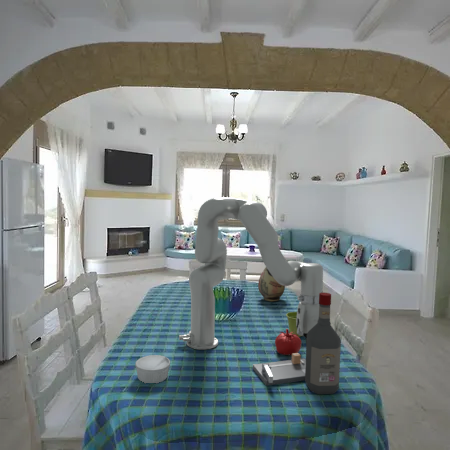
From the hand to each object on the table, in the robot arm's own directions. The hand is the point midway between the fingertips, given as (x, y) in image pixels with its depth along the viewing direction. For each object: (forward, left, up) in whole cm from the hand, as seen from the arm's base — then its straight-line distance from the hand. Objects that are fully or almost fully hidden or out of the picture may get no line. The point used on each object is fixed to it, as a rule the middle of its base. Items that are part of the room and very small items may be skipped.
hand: (310, 349), depth 132 cm
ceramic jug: (+21, +82, -6) cm, 85 cm away
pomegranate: (-2, +13, -6) cm, 15 cm away
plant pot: (+10, +29, -6) cm, 31 cm away
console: (-10, -3, -6) cm, 12 cm away
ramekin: (-54, +6, -6) cm, 55 cm away
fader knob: (-5, 0, -4) cm, 7 cm away
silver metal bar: (-19, -6, -4) cm, 21 cm away
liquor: (-4, -14, -6) cm, 16 cm away
